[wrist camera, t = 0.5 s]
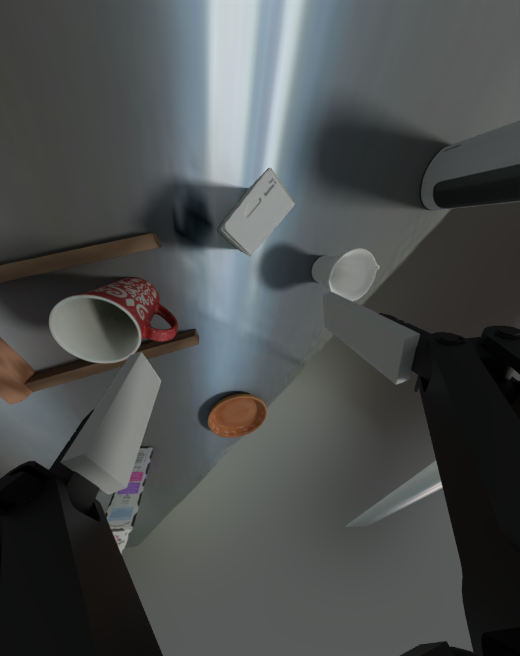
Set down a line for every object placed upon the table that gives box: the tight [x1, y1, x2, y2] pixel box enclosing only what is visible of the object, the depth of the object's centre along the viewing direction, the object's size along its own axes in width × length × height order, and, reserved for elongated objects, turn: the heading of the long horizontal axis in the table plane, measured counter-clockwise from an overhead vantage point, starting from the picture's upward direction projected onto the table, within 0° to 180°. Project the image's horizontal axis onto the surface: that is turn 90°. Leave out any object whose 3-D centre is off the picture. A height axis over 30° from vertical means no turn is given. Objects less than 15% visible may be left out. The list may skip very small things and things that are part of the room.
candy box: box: [105, 447, 154, 555], centre depth 45 cm, size 14×6×16 cm, turn 154°
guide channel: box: [0, 233, 199, 404], centre depth 31 cm, size 20×32×5 cm, turn 101°
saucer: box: [208, 394, 267, 438], centre depth 52 cm, size 16×16×3 cm
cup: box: [312, 248, 379, 301], centre depth 35 cm, size 9×9×10 cm
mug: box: [49, 277, 178, 363], centre depth 28 cm, size 13×9×14 cm
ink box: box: [218, 168, 295, 256], centre depth 27 cm, size 8×5×12 cm, turn 136°
